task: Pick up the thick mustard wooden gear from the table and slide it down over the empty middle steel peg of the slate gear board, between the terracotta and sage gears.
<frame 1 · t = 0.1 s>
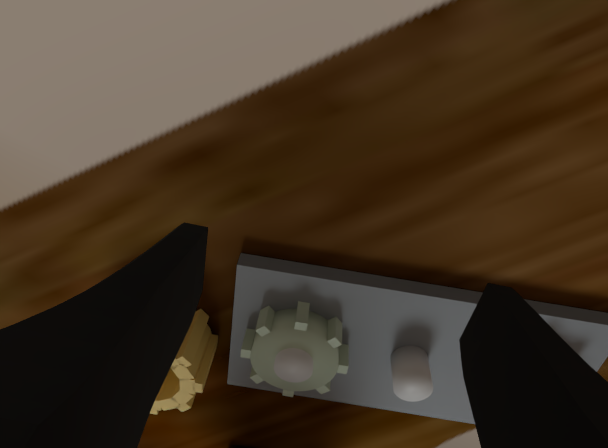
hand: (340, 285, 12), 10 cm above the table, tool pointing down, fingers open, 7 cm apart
loose gear: (170, 331, 28), on the table
gear board: (407, 345, 27), on the table
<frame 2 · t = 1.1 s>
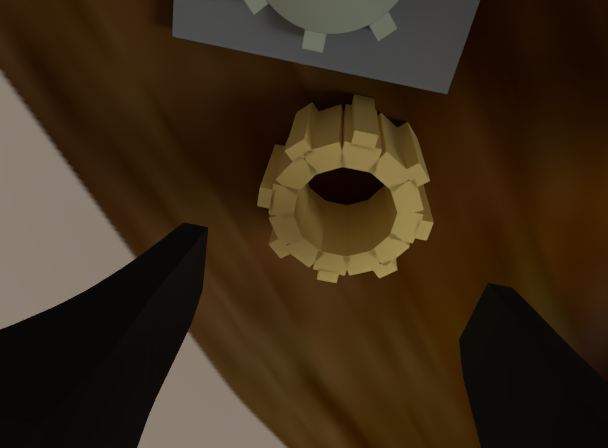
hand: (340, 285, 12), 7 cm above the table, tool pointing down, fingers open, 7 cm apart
loose gear: (345, 167, 18), on the table
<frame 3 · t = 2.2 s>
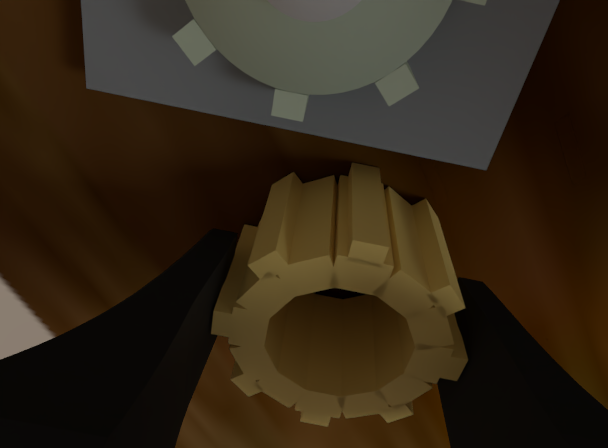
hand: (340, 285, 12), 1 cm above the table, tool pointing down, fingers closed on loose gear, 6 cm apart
loose gear: (340, 254, 13), on the table, touching gripper
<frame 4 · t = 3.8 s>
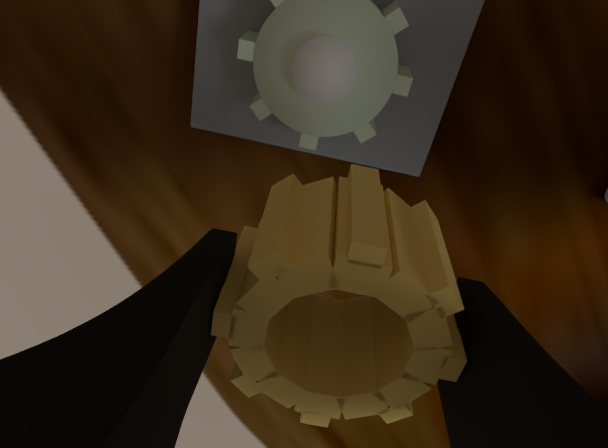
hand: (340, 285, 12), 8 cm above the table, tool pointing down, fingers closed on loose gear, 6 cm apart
loose gear: (340, 255, 13), point 7 cm above the table, touching gripper
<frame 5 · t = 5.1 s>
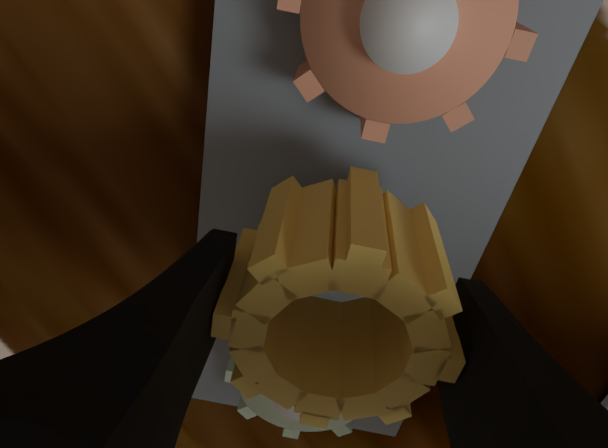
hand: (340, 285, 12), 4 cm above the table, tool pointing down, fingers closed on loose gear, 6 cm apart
loose gear: (339, 257, 13), point 3 cm above the table, touching gripper
gear board: (343, 207, 16), on the table
when the fingers open (3 cm above the table, at t = 5.8 s): loose gear stays where it is, resting on gear board.
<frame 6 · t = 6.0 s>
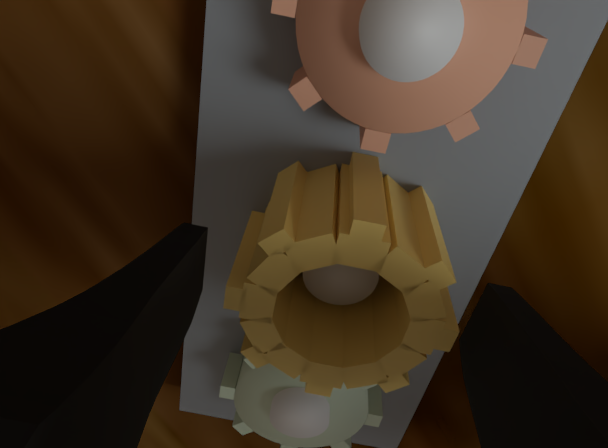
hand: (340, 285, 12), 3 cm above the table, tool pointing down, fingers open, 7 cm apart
loose gear: (342, 238, 14), point 1 cm above the table, touching gear board
gear board: (342, 217, 15), on the table
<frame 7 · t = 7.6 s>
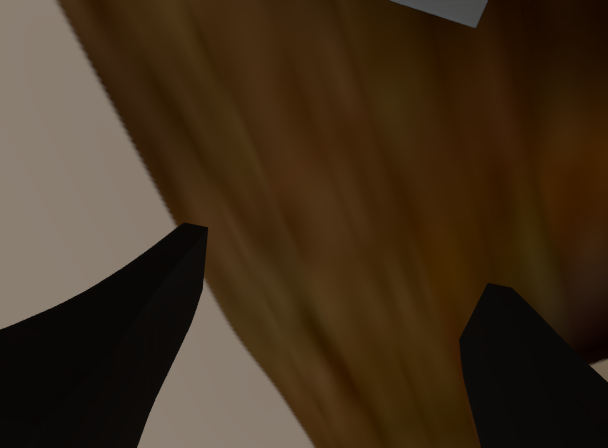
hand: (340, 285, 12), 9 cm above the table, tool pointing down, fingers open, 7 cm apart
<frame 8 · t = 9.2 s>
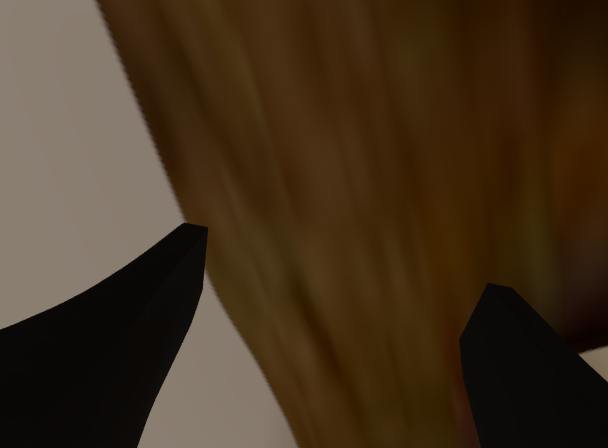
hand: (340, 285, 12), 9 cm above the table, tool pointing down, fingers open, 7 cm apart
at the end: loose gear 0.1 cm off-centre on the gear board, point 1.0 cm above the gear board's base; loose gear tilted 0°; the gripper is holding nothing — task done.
